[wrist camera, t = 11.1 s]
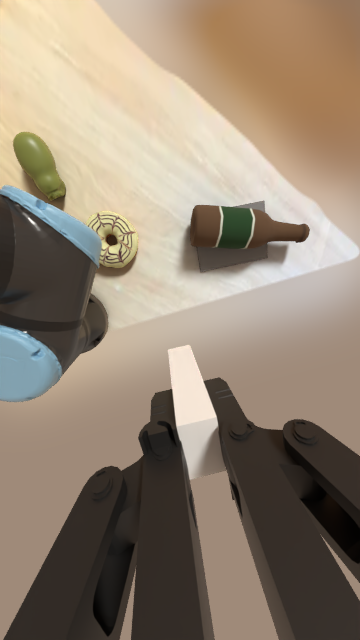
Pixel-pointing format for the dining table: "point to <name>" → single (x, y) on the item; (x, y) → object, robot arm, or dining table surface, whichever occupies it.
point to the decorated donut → (124, 233)
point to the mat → (231, 250)
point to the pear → (38, 164)
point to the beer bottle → (239, 228)
